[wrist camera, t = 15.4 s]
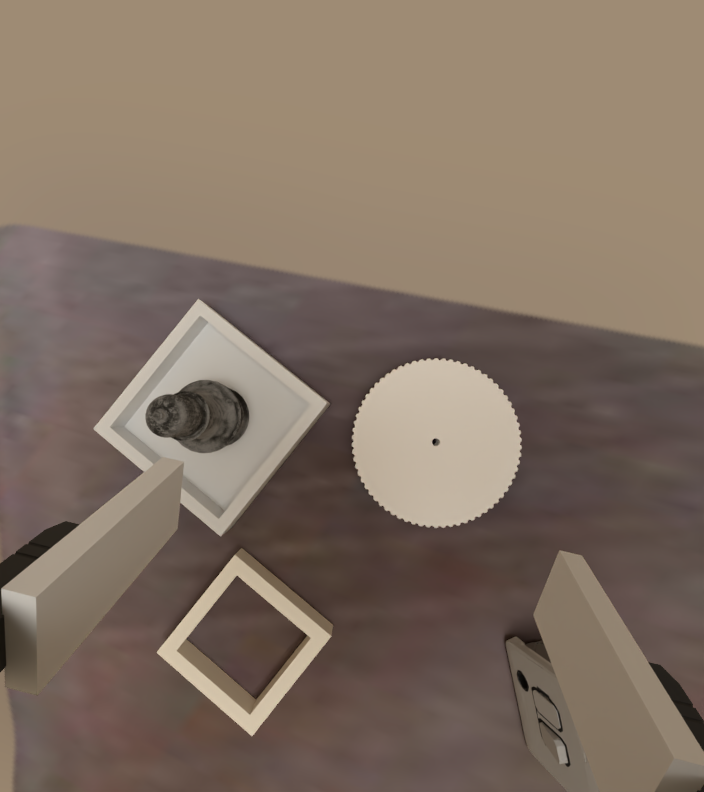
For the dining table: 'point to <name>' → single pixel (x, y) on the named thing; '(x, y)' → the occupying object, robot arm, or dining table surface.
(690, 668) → the dining table surface
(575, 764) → the electrical switch
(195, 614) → the socket collar
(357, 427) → the cream gear
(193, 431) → the chess piece
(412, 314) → the dining table surface
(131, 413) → the parts tray
